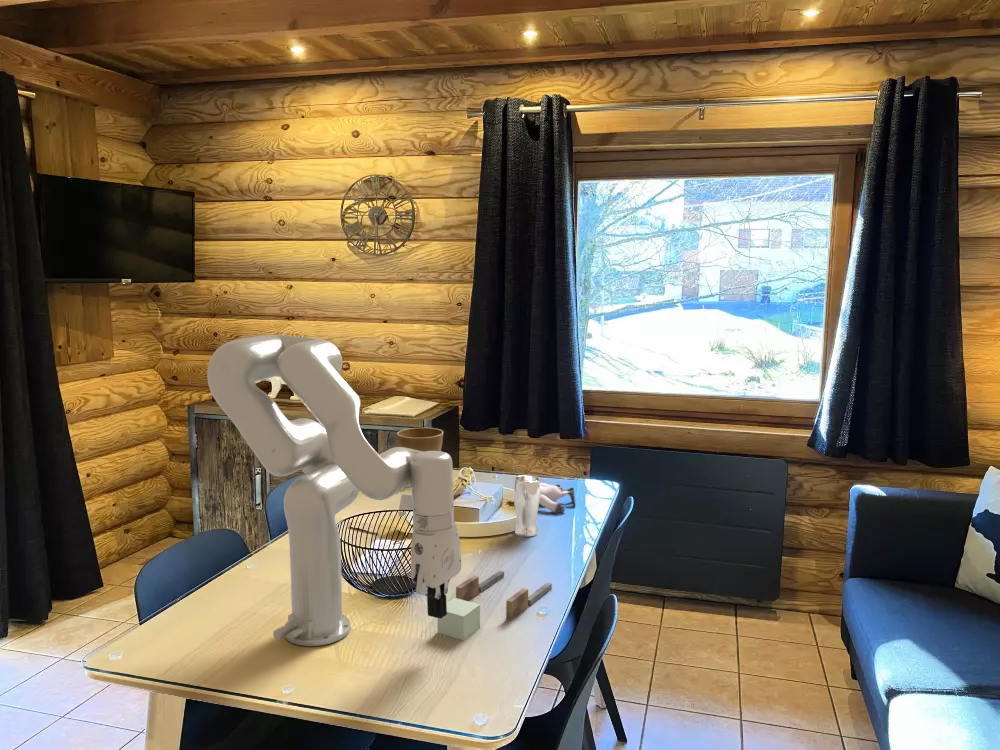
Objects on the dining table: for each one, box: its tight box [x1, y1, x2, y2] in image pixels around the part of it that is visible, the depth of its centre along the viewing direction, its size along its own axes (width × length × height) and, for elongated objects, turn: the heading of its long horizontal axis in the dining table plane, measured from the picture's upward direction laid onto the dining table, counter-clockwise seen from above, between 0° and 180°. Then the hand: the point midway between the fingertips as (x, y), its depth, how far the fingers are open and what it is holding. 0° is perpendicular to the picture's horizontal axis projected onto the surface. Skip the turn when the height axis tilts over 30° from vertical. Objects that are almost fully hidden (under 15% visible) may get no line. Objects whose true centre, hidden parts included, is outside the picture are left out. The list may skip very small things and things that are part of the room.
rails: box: [479, 570, 553, 606], centre depth 173 cm, size 10×13×1 cm
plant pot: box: [396, 427, 444, 452], centre depth 255 cm, size 15×15×16 cm
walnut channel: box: [455, 575, 529, 621], centre depth 164 cm, size 7×13×4 cm, turn 59°
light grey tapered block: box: [398, 493, 413, 517], centre depth 208 cm, size 4×7×10 cm, turn 70°
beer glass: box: [513, 474, 541, 538], centre depth 207 cm, size 7×7×15 cm
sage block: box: [437, 597, 481, 641], centre depth 154 cm, size 6×6×5 cm
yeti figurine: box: [539, 482, 576, 515], centre depth 234 cm, size 20×7×20 cm
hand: (437, 615), depth 145 cm, fingers closed
